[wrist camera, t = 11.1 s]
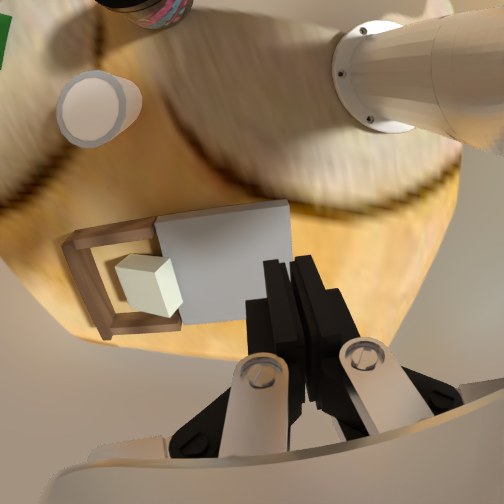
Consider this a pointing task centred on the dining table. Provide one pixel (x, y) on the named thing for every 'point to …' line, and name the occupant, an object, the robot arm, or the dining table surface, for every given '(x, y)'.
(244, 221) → the plate
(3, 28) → the milk carton
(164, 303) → the off-white flat block
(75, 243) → the box
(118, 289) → the dining table surface
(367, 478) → the robot arm
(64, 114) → the white cup
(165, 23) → the supplement container
